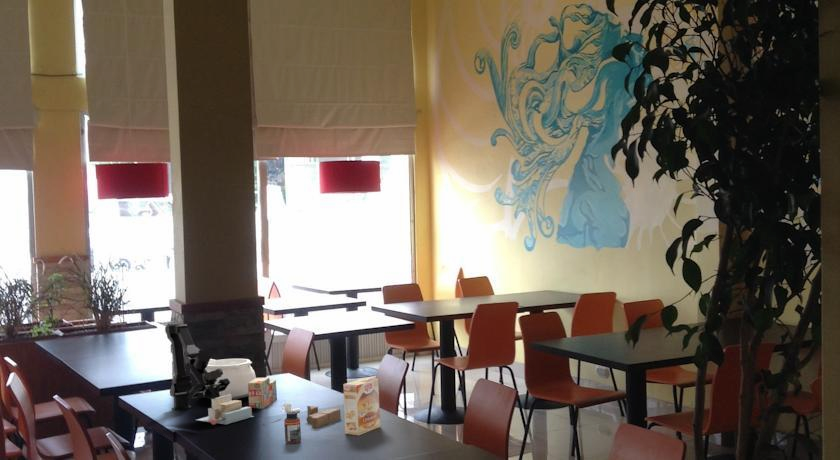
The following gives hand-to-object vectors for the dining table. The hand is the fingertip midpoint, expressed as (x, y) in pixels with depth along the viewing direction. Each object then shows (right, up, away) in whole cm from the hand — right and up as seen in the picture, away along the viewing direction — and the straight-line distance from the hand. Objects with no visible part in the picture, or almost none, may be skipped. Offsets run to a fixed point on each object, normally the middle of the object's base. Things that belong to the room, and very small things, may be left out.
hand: (220, 402), depth 368 cm
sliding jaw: (+2, -6, -1) cm, 6 cm away
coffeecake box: (+63, -5, -29) cm, 70 cm away
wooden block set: (+41, -6, -11) cm, 43 cm away
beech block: (+5, -6, -3) cm, 9 cm away
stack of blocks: (+13, -7, +29) cm, 32 cm away
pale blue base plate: (+1, -7, -4) cm, 8 cm away
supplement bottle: (+38, -6, -43) cm, 58 cm away
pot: (-8, -7, +52) cm, 53 cm away
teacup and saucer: (+29, -7, +7) cm, 31 cm away
